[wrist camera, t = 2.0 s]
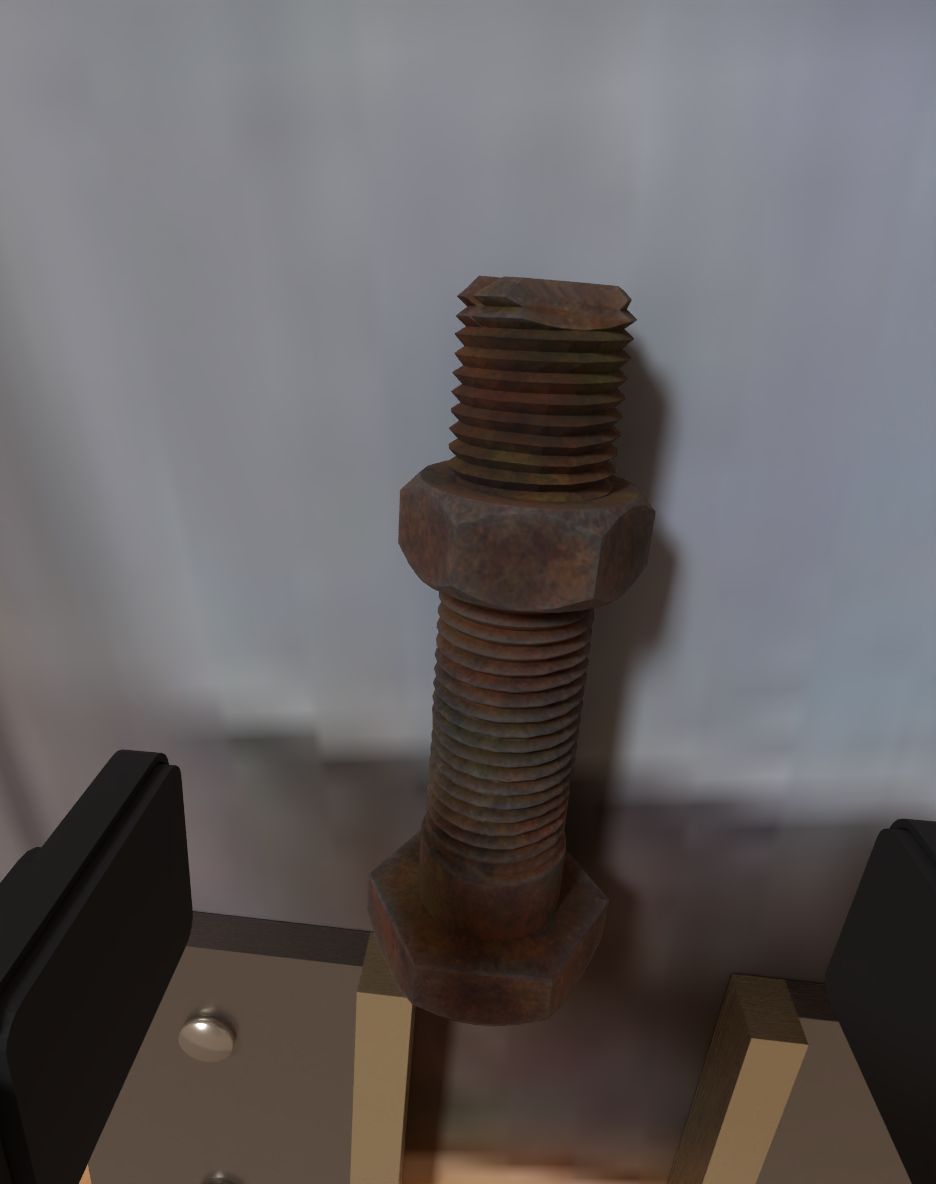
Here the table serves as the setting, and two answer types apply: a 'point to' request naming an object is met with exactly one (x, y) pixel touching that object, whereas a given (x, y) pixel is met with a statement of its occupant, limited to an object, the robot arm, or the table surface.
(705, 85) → the table surface
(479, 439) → the bolt
